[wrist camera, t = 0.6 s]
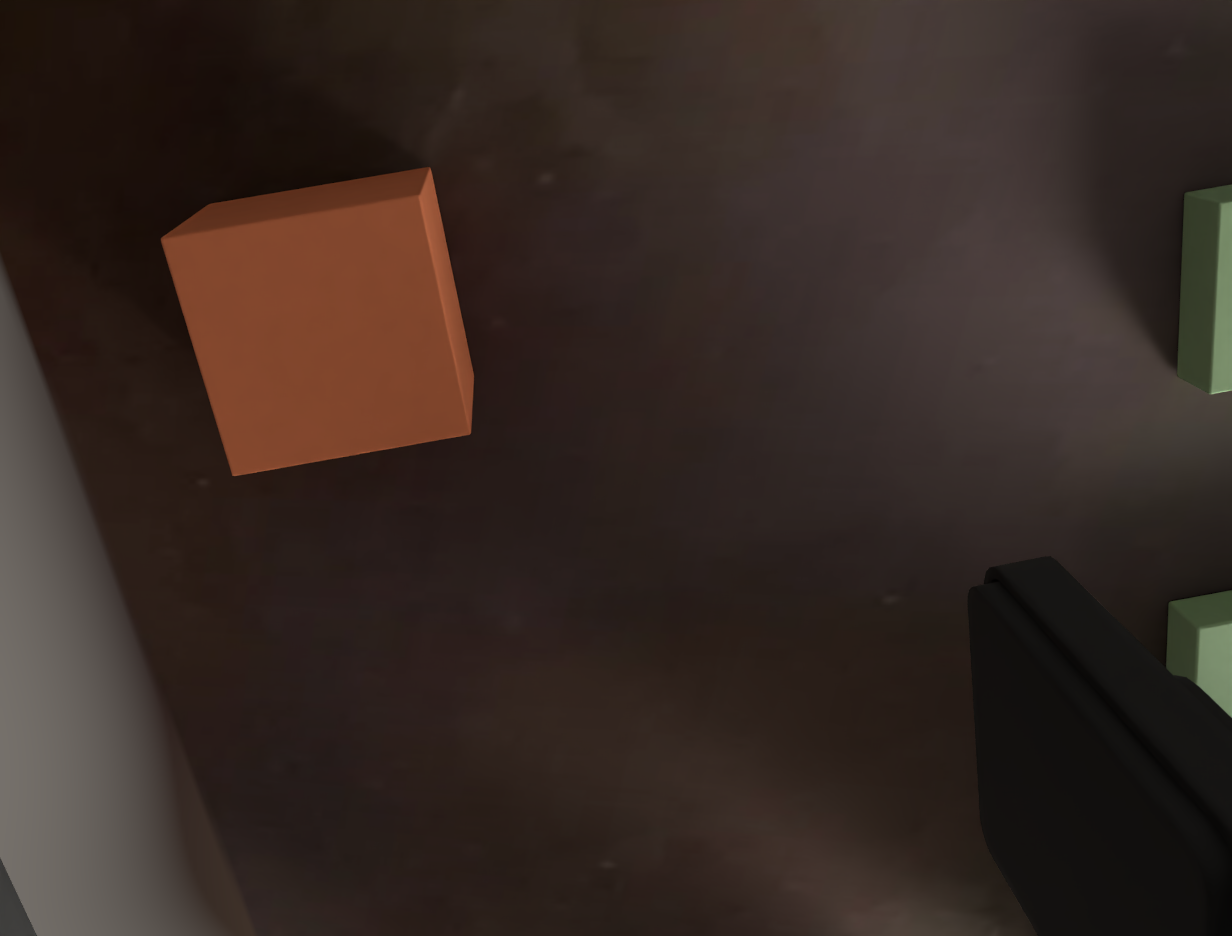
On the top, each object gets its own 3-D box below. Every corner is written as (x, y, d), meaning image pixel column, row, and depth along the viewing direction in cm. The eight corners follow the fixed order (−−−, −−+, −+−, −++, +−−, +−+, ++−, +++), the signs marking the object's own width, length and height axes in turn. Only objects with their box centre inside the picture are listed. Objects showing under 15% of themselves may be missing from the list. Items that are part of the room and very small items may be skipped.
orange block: (207, 203, 26) (159, 237, 22) (430, 166, 26) (419, 193, 22) (266, 413, 28) (232, 477, 24) (474, 377, 28) (471, 435, 24)
